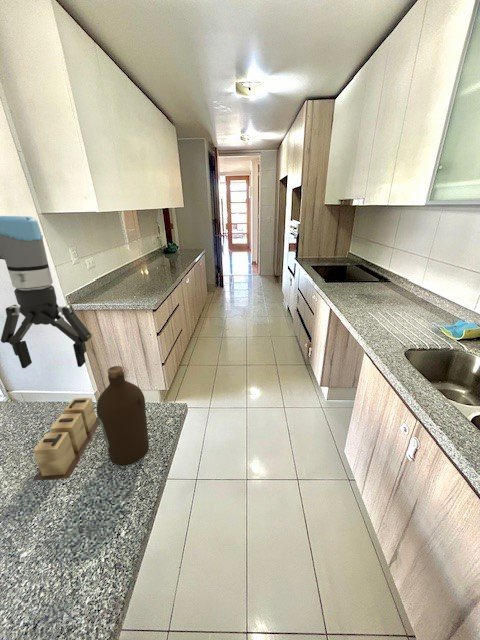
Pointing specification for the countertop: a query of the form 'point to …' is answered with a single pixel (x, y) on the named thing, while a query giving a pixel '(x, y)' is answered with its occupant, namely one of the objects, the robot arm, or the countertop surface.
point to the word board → (76, 459)
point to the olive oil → (123, 419)
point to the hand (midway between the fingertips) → (54, 365)
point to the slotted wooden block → (83, 411)
